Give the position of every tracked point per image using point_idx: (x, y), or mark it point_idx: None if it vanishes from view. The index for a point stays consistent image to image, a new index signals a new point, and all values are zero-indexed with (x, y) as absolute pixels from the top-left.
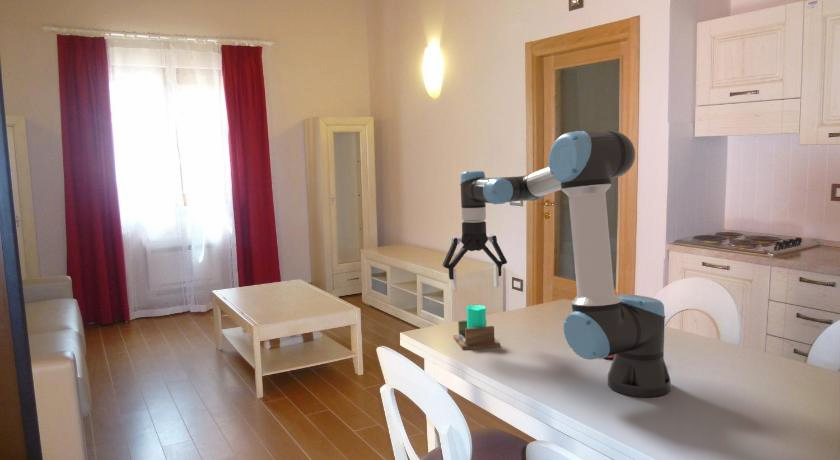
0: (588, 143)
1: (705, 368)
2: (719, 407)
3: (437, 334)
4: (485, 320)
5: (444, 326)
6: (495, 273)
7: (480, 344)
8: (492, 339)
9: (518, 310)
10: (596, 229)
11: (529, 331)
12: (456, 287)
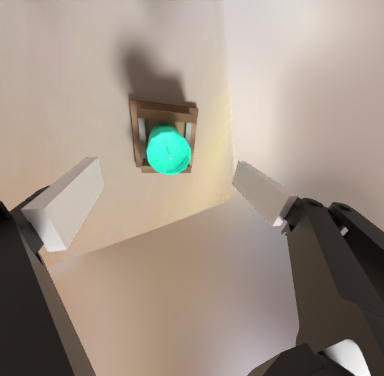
0: None
1: None
2: None
3: (203, 186)
4: (149, 139)
5: (185, 212)
6: (75, 194)
7: (166, 107)
8: (143, 108)
9: (70, 256)
10: None
11: (58, 166)
12: (243, 164)
